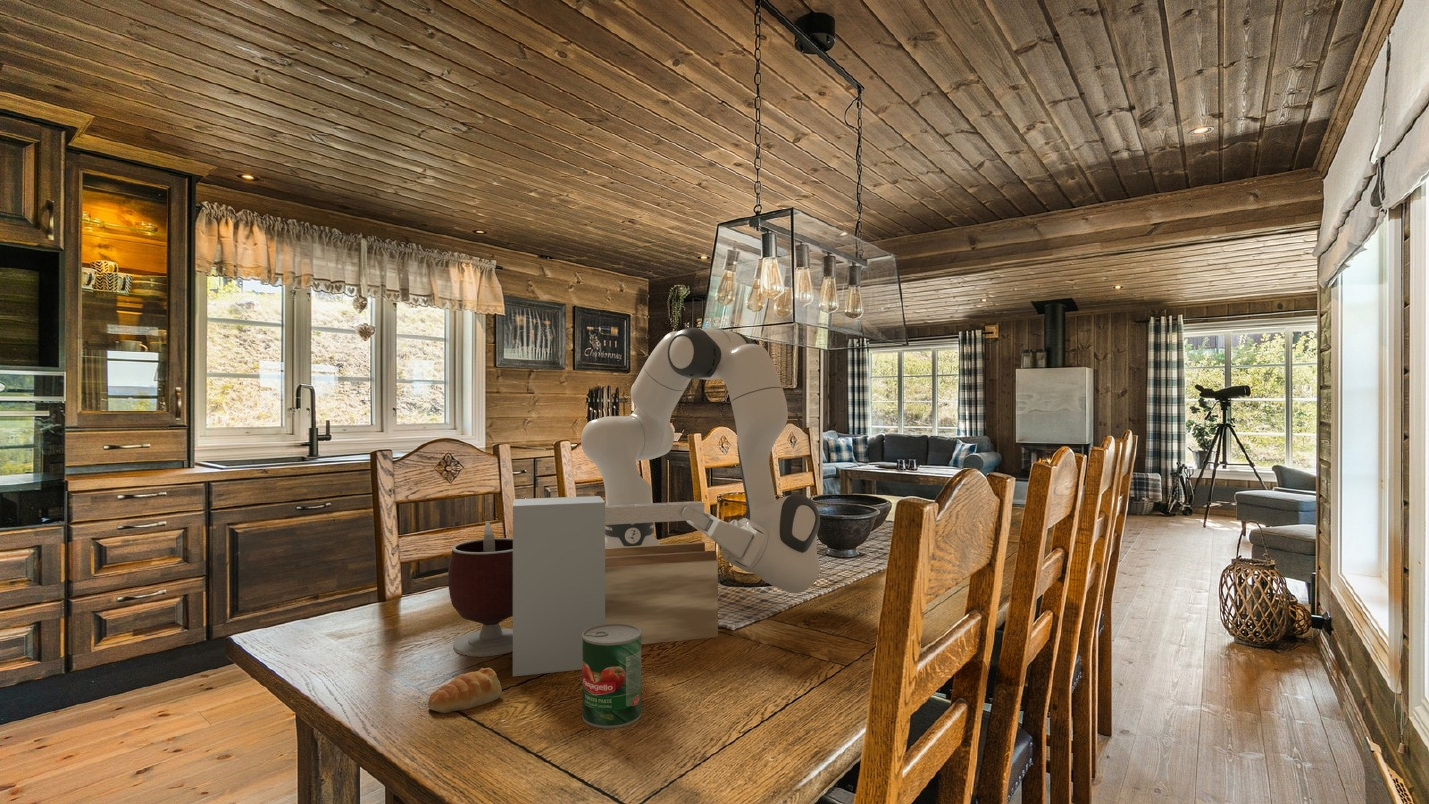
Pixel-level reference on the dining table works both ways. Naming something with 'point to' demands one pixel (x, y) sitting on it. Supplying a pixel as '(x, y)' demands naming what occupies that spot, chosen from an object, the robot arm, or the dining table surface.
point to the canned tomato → (611, 675)
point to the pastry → (466, 691)
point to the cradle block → (663, 591)
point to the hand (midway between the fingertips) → (680, 509)
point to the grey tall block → (556, 580)
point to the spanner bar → (649, 512)
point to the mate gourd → (483, 592)
